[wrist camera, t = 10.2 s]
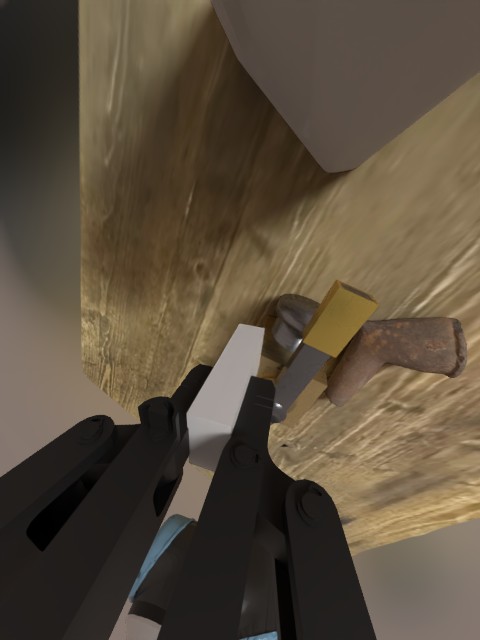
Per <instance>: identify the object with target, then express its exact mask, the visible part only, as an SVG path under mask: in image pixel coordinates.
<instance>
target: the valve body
mask: <svg viewBox="0 0 480 640" xmlns="http://www.w3.org/2000/svg"><path fill="white" fill-rule="evenodd" d="M319 305H320V304H319V303H317V302H316V301H313V300H311V299H309V298H306V297H304V296H300V295H296V294H284V295H282V296H281V297H280V299H279V301H278V303H277V305H276V313H277V315H278V317H277V319H276V318H274V317H271V316H269V315H268V316H267V318H266V320H265V322H264V324H263V326H262V328H265V330H264V337H263V344H262V350H261V357H260V364H259V368H258V372H257V375H256V377H259V378H264V379H268V380H272V381H273V383H274V381H275V380H276V378H277V377H278V375H279V374H280V372H281V371H282V369H283V368H284V366H285V365H286V363H287V362H288V360H289V359H290V357H291V356H292V354H293V353H294V351H295V350H296V348H297V347H298V345H299V344H300V342H301V341H302V339H303V330H304V328H305V327H306V325H307V324H308V322H309V321H310V319H311V318H312V316H313V315H314V313H315V312H316V310H317V308H318V307H319ZM327 386H328V385H327V377H326V369H325V364H324V365H323V366H322V368H321V369H320V370H319V371H318V373H317V374H316V375H315V376H314V378H313V379H312V380H311V381H310V383H309V384H308V385H307V386H306V388H305V389H304V390H303V391H302V393H301V394H300V395H299V396H298V398H297V399H296V400H295V401H294V403H293V404H292V405H291V406H290V408H289V409H288V410H287V417H286V419H285V420H284V421H282V422H280V423H281V424H284V425H286V426H288V427H290V428H293V427H294V425H295V424H296V423H297V422H298V421H299V419H300V418H301V417H302V416H303V415H304V414H305V412H306V411H307V410H308V409H309V408H310V406H311V405H312V404H313V403H314V402H315V401H316V399H317V398H318V397H319V396H320V395H321V393H322V392H323V391H324V390H325V389H326V388H327ZM272 424H273V423H270V425H272Z"/></svg>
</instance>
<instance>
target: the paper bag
mask: <svg viewBox="0 0 480 640" xmlns="http://www.w3.org/2000/svg"><path fill="white" fill-rule="evenodd" d="M210 1H211V3H212V5H213V7H214V10H215V12H216V14H217V16H218V18H219V20H220V23H221V25H222V27H223V29H224V31H225V33H226V36H227V38H228V40H229V42H230V44H231V47H232V49H233V51H234V53H235V55H236V57H237V59H238V60H239V62H240V63H241V64H242V66H243V67H244V68H245V70H246V71H247V72H248V74H249V75H250V76H251V77H252V79H253V80H254V81H255V83H256V84H257V85H258V86H259V88H260V89H261V90H262V92H263V93H264V94H265V95H266V97H267V98H268V99H269V101H270V102H271V103H272V105H273V106H274V107H275V108H276V110H277V111H278V112H279V114H280V115H281V116H282V117H283V119H284V120H285V121H286V123H287V124H288V125H289V127H290V128H291V129H292V130H293V132H294V133H295V134H296V136H297V137H298V138H299V139H300V141H301V142H302V143H303V145H304V146H305V147H306V148H307V150H308V151H309V152H310V154H311V155H312V156H313V158H314V159H315V160H316V161H317V163H318V164H319V165H320V167H321V168H322V169H323V170H324V171H326V172H328V173H336V172H342V171H348V170H352V169H355V168H357V167H358V166H360V165H361V164H362V163H364V162H365V161H366V160H367V159H369V158H370V157H371V156H372V155H374V154H375V153H376V152H378V151H379V150H380V149H381V148H383V147H384V146H385V145H387V144H388V143H389V142H390V141H392V140H393V139H394V138H395V137H397V136H398V135H399V134H401V133H402V132H403V131H404V130H406V129H407V128H408V127H410V126H411V125H412V124H413V123H415V122H416V121H417V120H418V119H420V118H421V117H422V116H424V115H425V114H426V113H427V112H429V111H430V110H431V109H433V108H434V107H435V106H436V105H438V104H439V103H440V102H442V101H443V100H444V99H445V98H447V97H448V96H449V95H450V94H452V93H453V92H454V91H456V90H457V89H458V88H459V87H461V86H462V85H463V84H465V83H466V82H467V81H468V80H470V79H471V78H472V77H473V76H475V75H476V74H477V73H479V72H480V0H210Z"/></svg>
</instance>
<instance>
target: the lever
mask: <svg viewBox="0 0 480 640" xmlns="http://www.w3.org/2000/svg"><path fill="white" fill-rule="evenodd" d="M378 306H379V304H378V303H377V302H376V300H375V299H374V298H373V296H372V295H370V294H367V293H365V292H363V291H361V290H359V289H356V288H354V287H352V286H350V285H347V284H345V283H343V282H341V281H338V280H336V281H335V282H334V284H333V285H332V287H331V288H330V290H329V291H328V293H327V295H326V296H325V298H324V299H323V301H322V302H321V304H320V305H319V307H318V308H317V310H316V312H315V313H314V315H313V316H312V318H311V319H310V321H309V322H308V324H307V325H306V327H305V328H304V330H303V339H302V341H301V342H300V344H299V345H298V347H297V348H296V350H295V351H294V353H293V354H292V356H291V357H290V359H289V360H288V362H287V363H286V365H285V366H284V368H283V369H282V371H281V372H280V374H279V375H278V377H277V378H276V380H275V381H274V383H273V384H274V386H275V389H276V392H275V398H274V404H273V411H272V417H271V423H280V422H282V421H284V420H285V419H286V417H287V410H288V409H289V408H290V406H291V405H292V404H293V403H294V401H295V400H296V399H297V398H298V396H299V395H300V394H301V393H302V391H303V390H304V389H305V388H306V386H307V385H308V384H309V383H310V381H311V380H312V379H313V378H314V376H315V375H316V374H317V373H318V371H319V370H320V369H321V368H322V366H323V365H324V364H325V363H326V361H327V360H328V359H329V358H330V356H333V357H335V358H336V357H337V356H338V354H339V353H340V352H341V351H342V350H343V348H344V347H345V346H346V345H347V343H348V342H349V341H350V340H351V339H352V337H353V336H354V335H355V334H356V333H357V331H358V330H359V329H360V328H361V326H362V325H363V324H364V323H365V322H366V320H367V319H368V318H369V317H370V316H371V314H372V313H373V312H374V311H375V309H376V308H377V307H378Z"/></svg>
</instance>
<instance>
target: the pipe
mask: <svg viewBox="0 0 480 640" xmlns="http://www.w3.org/2000/svg"><path fill="white" fill-rule="evenodd" d="M466 361H467V343H466V340H465V336H464V333H463V330H462V328H461V323H460V322H459V321H458V320H457V319H454V318H445V317H433V318H412V319H393V320H386V321H366V322H365V323H364V324H363V325H362V326H361V328H360V329H359V330H358V331H357V333H356V335H355V337H354V338H353V340H352V341H351V343H350V344H349V346H348V348H347V349H346V351H345V353H344V354H343V356H342V358H341V360H340V362H339V364H338V365H337V367H336V368H335V370H334V371H333V373H332V375H331V376H330V378H329V379H328V381H327V385H328V386H327V388H326V389H325V390H324V392H325V394H326V396H327V398H328V399H329V400H330V402H331V403H333V404H335V405H336V406H339V407H341V406H343V405H344V404H345V403H346V402H347V401H349V400H350V398H351V397H353V396H354V395H355V394H356V393H357V392H358V391H359V390H360V389H361V388H362V387H363V386H364V385H365V384H366V383H367V382H368V381H369V380H370V378H371V377H372V376H373V375H374V374H375V373H376V372H377V371H378V369H379V368H380V367H381V366H382V365H383V364H384V363H392V364H395V365H398V366H402V367H405V368H409V369H412V370H417V371H421V372H427V373H438V374H444V375H446V376H448V377H450V378H455V377H457V376H459V375H460V374H461V373H462V372H463V370H464V368H465V366H466Z"/></svg>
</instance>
